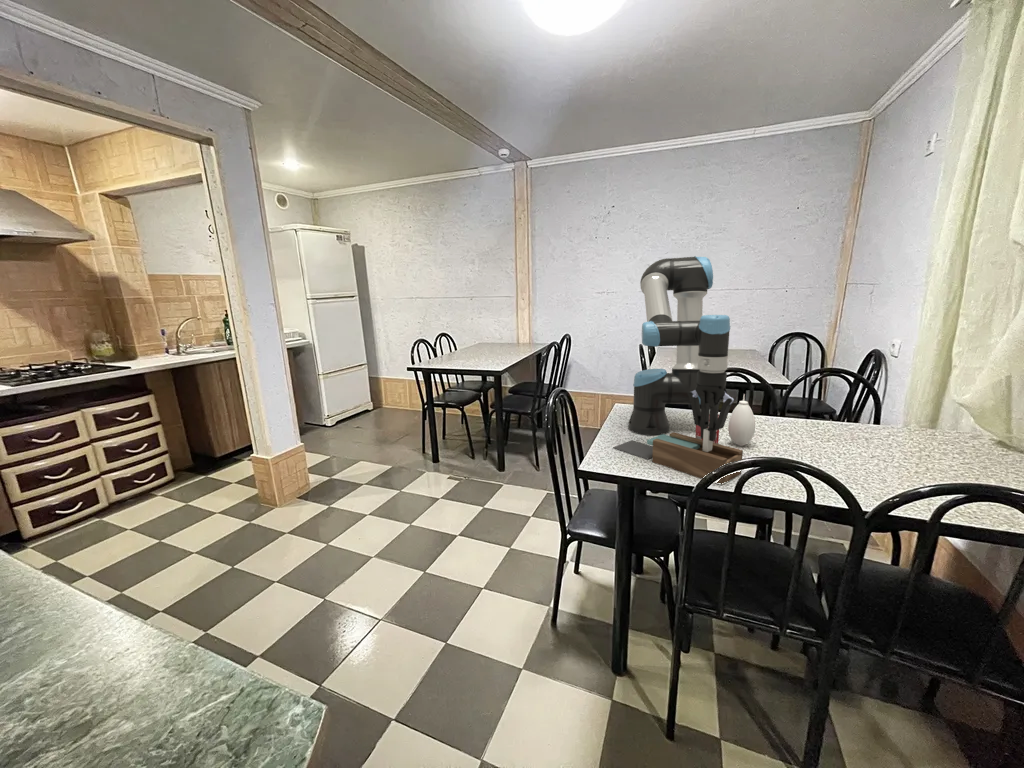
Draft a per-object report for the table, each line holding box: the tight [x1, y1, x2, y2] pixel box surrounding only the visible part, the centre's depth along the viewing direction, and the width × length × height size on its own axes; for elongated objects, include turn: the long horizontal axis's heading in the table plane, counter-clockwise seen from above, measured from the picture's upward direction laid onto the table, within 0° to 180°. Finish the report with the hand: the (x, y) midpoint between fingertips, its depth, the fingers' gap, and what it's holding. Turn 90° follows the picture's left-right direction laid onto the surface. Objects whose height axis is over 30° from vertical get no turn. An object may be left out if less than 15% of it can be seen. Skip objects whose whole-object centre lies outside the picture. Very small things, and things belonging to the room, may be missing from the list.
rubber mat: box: [612, 440, 653, 461], centre depth 141 cm, size 10×14×1 cm
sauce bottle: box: [727, 393, 756, 447], centre depth 140 cm, size 8×8×18 cm
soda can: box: [694, 410, 720, 444], centre depth 139 cm, size 7×7×13 cm
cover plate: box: [646, 433, 700, 450], centre depth 130 cm, size 9×13×1 cm
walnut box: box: [651, 431, 744, 484], centre depth 125 cm, size 11×22×7 cm, turn 37°
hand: (707, 450), depth 121 cm, fingers closed
